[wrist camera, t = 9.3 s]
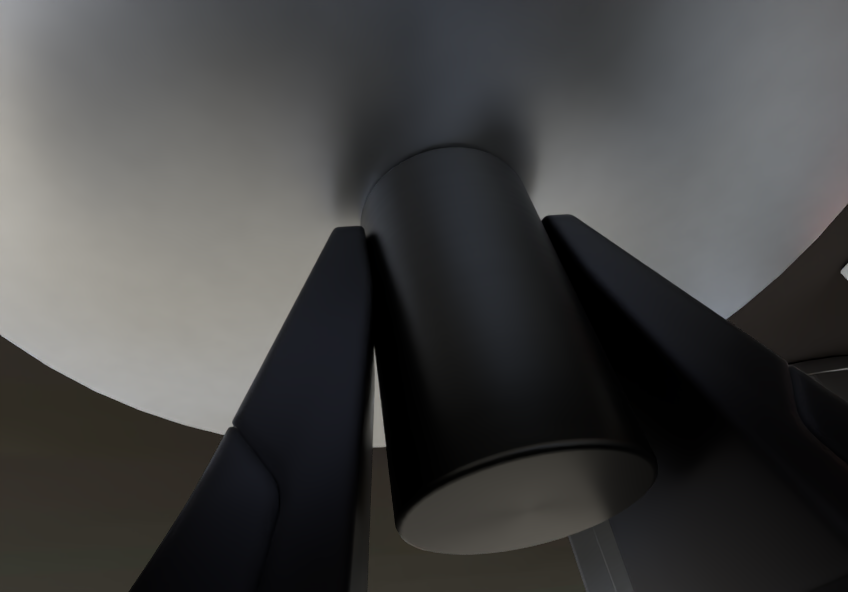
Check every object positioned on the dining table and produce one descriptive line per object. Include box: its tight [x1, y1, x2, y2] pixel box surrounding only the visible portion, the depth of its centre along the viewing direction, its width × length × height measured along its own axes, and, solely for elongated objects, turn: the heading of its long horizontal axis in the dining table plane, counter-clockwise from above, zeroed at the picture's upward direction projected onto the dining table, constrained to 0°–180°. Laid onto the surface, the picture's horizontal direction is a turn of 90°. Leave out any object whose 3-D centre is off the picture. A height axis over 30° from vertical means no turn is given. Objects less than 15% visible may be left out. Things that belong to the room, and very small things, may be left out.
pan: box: [568, 356, 848, 592], centre depth 19 cm, size 14×14×6 cm
